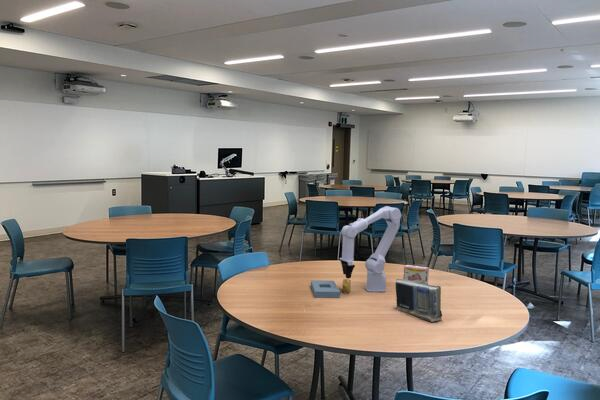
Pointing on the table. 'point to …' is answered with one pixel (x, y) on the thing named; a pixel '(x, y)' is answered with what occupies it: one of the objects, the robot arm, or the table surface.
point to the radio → (419, 299)
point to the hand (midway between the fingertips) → (346, 276)
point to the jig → (325, 289)
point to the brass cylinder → (346, 286)
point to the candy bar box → (416, 274)
